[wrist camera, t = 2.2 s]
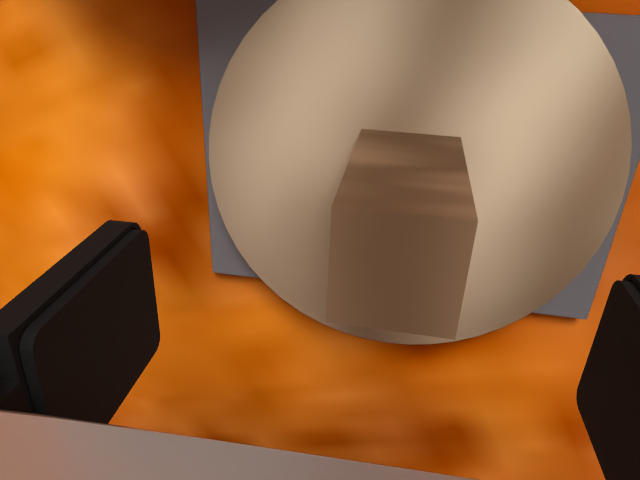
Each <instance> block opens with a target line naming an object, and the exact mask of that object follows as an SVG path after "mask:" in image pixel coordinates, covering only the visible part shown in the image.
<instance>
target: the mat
mask: <svg viewBox="0 0 640 480" xmlns="http://www.w3.org/2000/svg"><path fill="white" fill-rule="evenodd" d="M276 1H278V0H196V15H197V31H198V47H199V62H200V78H201V94H202V109H203V125H204V141H205V156H206V172H207V188H208V203H209V219H210V234H211V250H212V266H213V272H215V273H223V274H231V275H239V276H247V277H255V278H260V277H259V276H258V275H257V274H256V273H255V272H254V271H253V270H252V268H251V267H250V266H249V265H248V263H247V262H246V260H245V259H244V258H243V256H242V255H241V253H240V252H239V250H238V249H237V247H236V245H235V244H234V242H233V240H232V238H231V236H230V234H229V233H228V231H227V229H226V227H225V224H224V222H223V219H222V216H221V214H220V211H219V209H218V206H217V202H216V198H215V194H214V191H213V187H212V181H211V173H210V166H209V131H210V124H211V117H212V110H213V106H214V103H215V99H216V96H217V92H218V88H219V85H220V83H221V80H222V78H223V76H224V73H225V71H226V69H227V66H228V64H229V62H230V60H231V58H232V56H233V55H234V53H235V52H236V50H237V48H238V47H239V45H240V43H241V42H242V40H243V38H244V37H245V35H246V34H247V33H248V32H249V31H250V29H251V28H252V27H253V26H254V24H255V23H256V22H257V21H258V19H259V18H260V17H261V16H262V15H263V14H264V13H265V12H266V11H267V10H268V9H269V8H270V7H271V6H272V5H273V4H274V3H275V2H276ZM581 13H582V14H583V16H584V17H585V18H586V19H587V21H588V22H589V23H590V24H591V25H592V27H593V28H594V29H595V30H596V32H597V33H598V34H599V36H600V38H601V39H602V41H603V43H604V45H605V46H606V48H607V50H608V51H609V53H610V55H611V57H612V58H613V60H614V63H615V65H616V68H617V70H618V73H619V76H620V78H621V81H622V84H623V86H624V89H625V94H626V99H627V103H628V108H629V113H630V120H631V139H632V149H631V159H630V170H629V176H628V180H627V184H626V188H625V192H624V196H623V200H622V203H621V205H620V208H619V210H618V213H617V215H616V218H615V220H614V222H613V225H612V227H611V229H610V230H609V232H608V234H607V236H606V237H605V239H604V241H603V243H602V244H601V246H600V248H599V249H598V251H597V252H596V253H595V255H594V256H593V257H592V259H591V260H590V261H589V262H588V264H587V265H586V266H585V268H584V269H583V270H582V271H581V272H580V273H579V274H578V275H577V276H576V277H575V278H574V279H573V280H572V281H571V282H570V283H569V284H568V285H567V287H566V288H564V289H563V290H562V291H561V292H559V293H558V294H557V295H556V296H554V297H553V298H552V299H551V300H549V301H548V302H547V303H546V304H544V305H543V306H541V307H539V308H538V309H536V310H535V311H533V312H532V313H540V314H548V315H556V316H563V317H571V318H579V319H587V317H588V314H589V311H590V308H591V305H592V302H593V299H594V296H595V293H596V290H597V287H598V284H599V281H600V278H601V275H602V272H603V269H604V266H605V263H606V260H607V256H608V253H609V250H610V247H611V244H612V241H613V238H614V235H615V232H616V229H617V226H618V223H619V220H620V217H621V214H622V211H623V208H624V205H625V202H626V199H627V196H628V193H629V190H630V186H631V183H632V180H633V177H634V174H635V171H636V168H637V165H638V162H639V159H640V15H624V14H605V13H586V12H581Z"/></svg>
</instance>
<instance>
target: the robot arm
mask: <svg viewBox="0 0 640 480" xmlns="http://www.w3.org/2000/svg"><path fill="white" fill-rule="evenodd" d="M159 341H160V330H159V321H158V313H157V304H156V296H155V288H154V279H153V271H152V262H151V254H150V246H149V238H148V234H147V232H146V231H145V230H141V228H140V226H139V225H138V224H137V223H133V222H123V221H114V220H109V221H107V222H105V223H104V224H103V225H102V226H101V227H99V228H98V229H97V230H96V231H94V232H93V233H92V234H91V235H90V236H88V237H87V238H86V239H85V240H84V241H82V242H81V243H80V244H79V245H78V246H76V247H75V248H74V249H73V250H72V251H70V252H69V253H68V254H67V255H66V256H64V257H63V258H62V259H61V260H59V261H58V262H57V263H56V264H55V265H53V266H52V267H51V268H50V269H49V270H47V271H46V272H45V273H44V274H43V275H41V276H40V277H39V278H38V279H37V280H35V281H34V282H33V283H32V284H30V285H29V286H28V287H27V288H26V289H24V290H23V291H22V292H21V293H20V294H18V295H17V296H16V297H15V298H14V299H12V300H11V301H10V302H9V303H8V304H6V305H5V306H4V307H3V308H1V309H0V480H479V479H472V478H465V477H459V476H452V475H445V474H439V473H432V472H425V471H419V470H412V469H405V468H399V467H392V466H385V465H379V464H372V463H365V462H359V461H352V460H345V459H339V458H332V457H325V456H319V455H312V454H305V453H299V452H292V451H286V450H279V449H272V448H266V447H259V446H252V445H246V444H239V443H233V442H226V441H219V440H213V439H206V438H199V437H193V436H186V435H179V434H172V433H166V432H159V431H152V430H145V429H138V428H131V427H124V426H117V425H110V424H108V423H109V421H110V420H111V418H112V417H113V415H114V414H115V412H116V411H117V409H118V408H119V406H120V405H121V403H122V402H123V400H124V399H125V397H126V396H127V394H128V393H129V391H130V390H131V388H132V387H133V385H134V384H135V382H136V381H137V379H138V378H139V376H140V375H141V373H142V372H143V370H144V369H145V367H146V366H147V364H148V363H149V361H150V360H151V358H152V357H153V355H154V354H155V352H156V351H157V348H158V346H159ZM577 405H578V409H579V411H580V414H581V417H582V419H583V422H584V424H585V427H586V430H587V432H588V435H589V437H590V440H591V443H592V445H593V448H594V450H595V453H596V456H597V458H598V461H599V464H600V466H601V469H602V471H603V474H604V477H605V479H606V480H640V275H632V274H629V275H627V276H626V277H625V278H624V279H623V281H618V280H617V281H615V282H614V284H613V286H612V288H611V291H610V294H609V297H608V299H607V302H606V305H605V308H604V311H603V314H602V317H601V320H600V323H599V326H598V329H597V332H596V335H595V338H594V341H593V344H592V347H591V350H590V353H589V356H588V359H587V362H586V365H585V368H584V371H583V374H582V377H581V380H580V382H579V385H578V389H577Z"/></svg>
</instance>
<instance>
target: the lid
mask: <svg viewBox="0 0 640 480" xmlns="http://www.w3.org/2000/svg"><path fill="white" fill-rule="evenodd" d="M631 149H632V139H631V120H630V113H629V108H628V103H627V99H626V94H625V89H624V86H623V84H622V81H621V78H620V76H619V73H618V70H617V68H616V65H615V63H614V60H613V58H612V57H611V55H610V53H609V51H608V50H607V48H606V46H605V45H604V43H603V41H602V39H601V38H600V36H599V34H598V33H597V32H596V30H595V29H594V28H593V27H592V25H591V24H590V23H589V22H588V21H587V19H586V18H585V17H584V16H583V14H582V13H581V12H580V11H579V9H577V8H576V7H575V6H574V5H573V4H572V3H571V2H570V1H568V0H278V1H276V2H275V3H274V4H273V5H272V6H271V7H270V8H269V9H268V10H267V11H266V12H265V13H264V14H263V15H262V16H261V17H260V18H259V19H258V21H257V22H256V23H255V24H254V26H253V27H252V28H251V29H250V31H249V32H248V33H247V34H246V35H245V37H244V38H243V40H242V42H241V43H240V45H239V47H238V48H237V50H236V52H235V53H234V55H233V56H232V58H231V60H230V62H229V64H228V66H227V69H226V71H225V73H224V76H223V78H222V80H221V83H220V85H219V88H218V92H217V96H216V99H215V103H214V106H213V110H212V117H211V124H210V131H209V166H210V173H211V181H212V187H213V191H214V194H215V198H216V202H217V206H218V209H219V211H220V214H221V216H222V219H223V222H224V224H225V227H226V229H227V231H228V233H229V234H230V236H231V238H232V240H233V242H234V244H235V245H236V247H237V249H238V250H239V252H240V253H241V255H242V256H243V258H244V259H245V260H246V262H247V263H248V265H249V266H250V267H251V268H252V270H253V271H254V272H255V273H256V274H257V275H258V276H259V277H260V278H261V280H262V281H263V282H264V283H265V284H266V285H267V286H268V287H269V288H271V289H272V290H273V291H274V292H275V293H276V294H277V295H278V296H280V297H281V298H282V299H283V300H284V301H286V302H287V303H289V304H290V305H292V306H293V307H294V308H296V309H297V310H299V311H300V312H302V313H304V314H305V315H307V316H309V317H311V318H313V319H314V320H316V321H318V322H320V323H322V324H324V325H327V326H329V327H331V328H334V329H336V330H339V331H341V332H344V333H347V334H351V335H354V336H357V337H361V338H364V339H370V340H375V341H380V342H385V343H396V344H408V345H411V344H437V343H445V342H453V341H459V340H463V339H467V338H471V337H476V336H480V335H482V334H485V333H488V332H491V331H494V330H497V329H500V328H502V327H504V326H506V325H509V324H511V323H513V322H515V321H517V320H519V319H521V318H523V317H525V316H527V315H528V314H530V313H531V312H533V311H535V310H536V309H538V308H539V307H541V306H543V305H544V304H546V303H547V302H548V301H549V300H551V299H552V298H553V297H554V296H556V295H557V294H558V293H559V292H561V291H562V290H563V289H564V288H566V287H567V285H568V284H569V283H570V282H571V281H572V280H573V279H574V278H575V277H576V276H577V275H578V274H579V273H580V272H581V271H582V270H583V269H584V268H585V266H586V265H587V264H588V262H589V261H590V260H591V259H592V257H593V256H594V255H595V253H596V252H597V251H598V249H599V248H600V246H601V244H602V243H603V241H604V239H605V237H606V236H607V234H608V232H609V230H610V229H611V227H612V225H613V222H614V220H615V218H616V215H617V213H618V210H619V208H620V205H621V203H622V200H623V196H624V192H625V188H626V184H627V180H628V176H629V170H630V159H631Z"/></svg>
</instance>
